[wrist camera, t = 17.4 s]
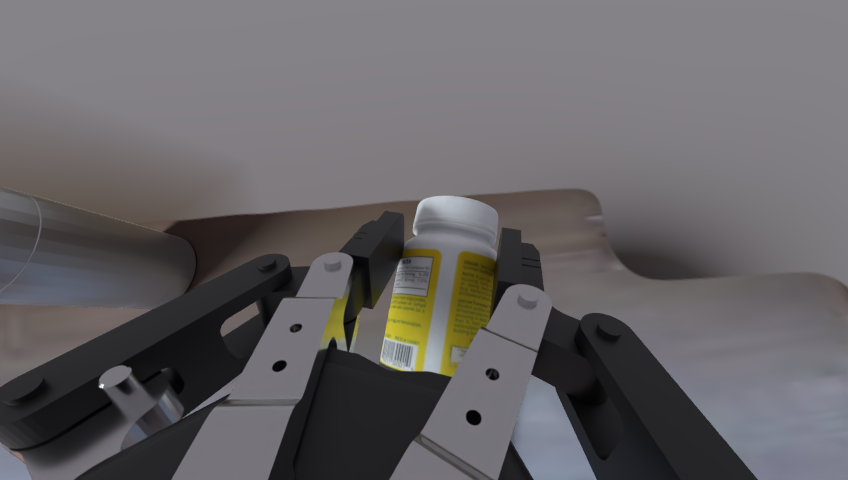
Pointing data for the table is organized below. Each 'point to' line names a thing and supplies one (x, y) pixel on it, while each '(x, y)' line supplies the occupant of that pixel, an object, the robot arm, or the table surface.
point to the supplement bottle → (441, 286)
